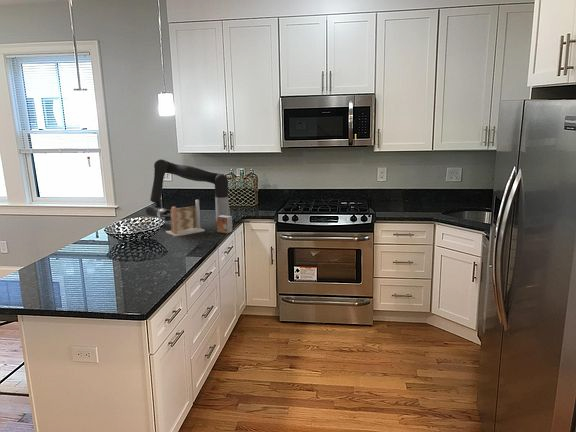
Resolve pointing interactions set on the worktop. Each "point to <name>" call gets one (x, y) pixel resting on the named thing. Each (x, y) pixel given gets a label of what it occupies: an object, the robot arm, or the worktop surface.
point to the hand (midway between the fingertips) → (177, 218)
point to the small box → (224, 224)
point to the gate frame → (187, 231)
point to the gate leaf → (185, 218)
